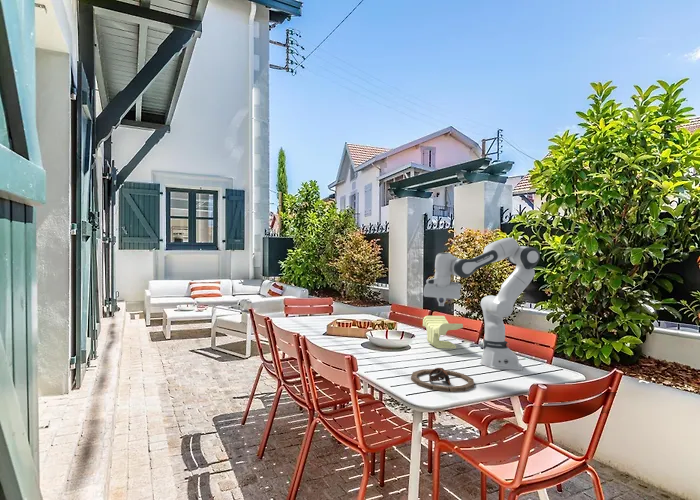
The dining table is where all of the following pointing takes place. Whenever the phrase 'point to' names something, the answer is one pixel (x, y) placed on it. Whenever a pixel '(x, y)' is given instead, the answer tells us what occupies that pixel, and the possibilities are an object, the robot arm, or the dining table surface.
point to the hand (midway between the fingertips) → (441, 305)
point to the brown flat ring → (440, 388)
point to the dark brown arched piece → (439, 375)
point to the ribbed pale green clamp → (439, 330)
